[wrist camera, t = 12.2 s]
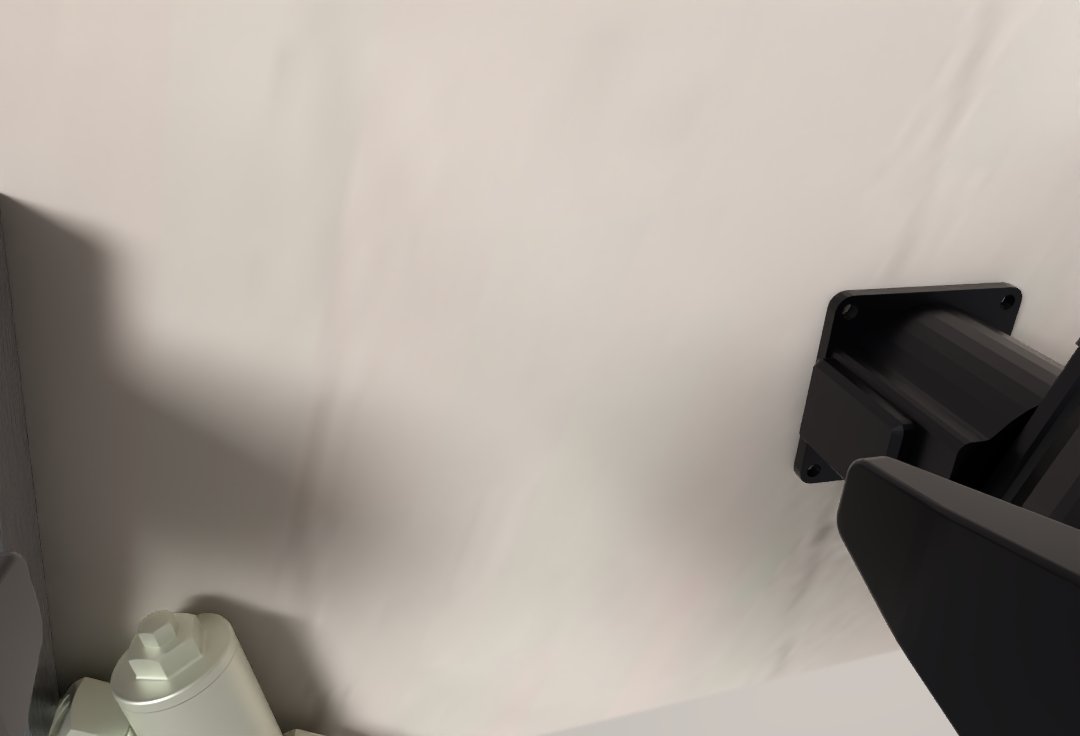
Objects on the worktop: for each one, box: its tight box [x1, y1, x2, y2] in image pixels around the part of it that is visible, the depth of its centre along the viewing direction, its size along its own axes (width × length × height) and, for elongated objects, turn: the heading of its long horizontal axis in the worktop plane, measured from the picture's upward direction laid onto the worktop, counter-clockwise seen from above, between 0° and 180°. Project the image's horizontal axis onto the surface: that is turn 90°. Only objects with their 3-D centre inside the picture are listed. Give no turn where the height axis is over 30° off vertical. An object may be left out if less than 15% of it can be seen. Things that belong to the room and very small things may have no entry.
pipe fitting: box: [48, 610, 324, 736], centre depth 24 cm, size 8×4×7 cm
